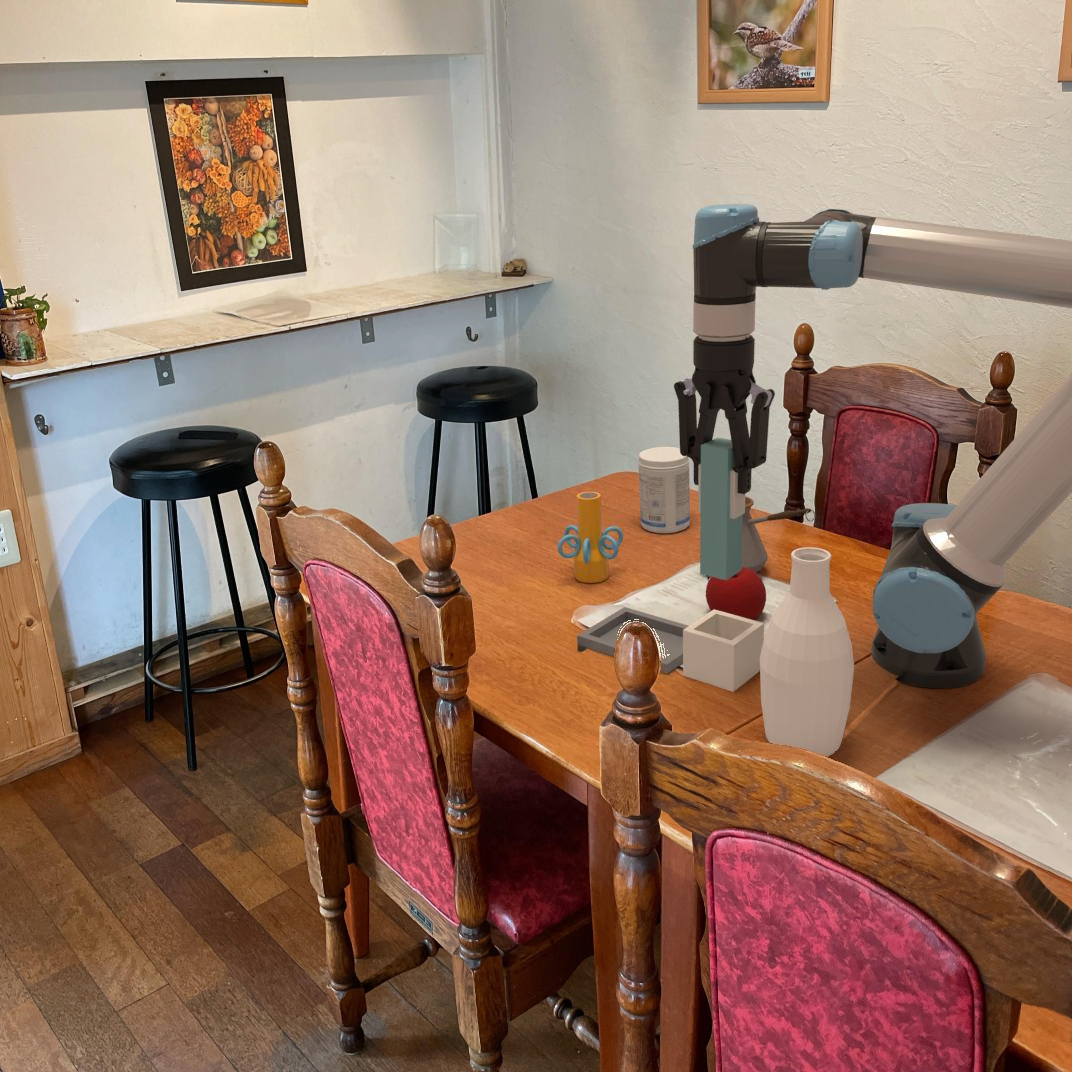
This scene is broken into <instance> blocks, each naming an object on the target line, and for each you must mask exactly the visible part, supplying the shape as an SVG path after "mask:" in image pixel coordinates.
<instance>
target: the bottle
mask: <svg viewBox="0 0 1072 1072" xmlns="http://www.w3.org/2000/svg"><path fill="white" fill-rule="evenodd" d="M790 554H791V555H790V558H791V560H792V561H791V572H790V581H789V582H790V583H789V591H788V592H787V594H786V595H785V597H784V598H783V600H782V601H781V602H780V604H779V605H778V607H777V608H776V610H775V611H774V613H773V614H772V616H771V618H770V621H769V623H768V627H767V629H766V631H765V633H764V640H763V645H762V650H761V655H760V671H759V673H760V675H759V677H760V680H759V681H760V702H761V704H760V705H761V711H762V719H763V725H764V731H765V738H766V740H767V741H768V743H769V744H770V743H773V744H779V745H787V746H792V747H798V748H802V749H806V750H809V751H812V752H815V753H818V754H821V755H824V756H827V758H829V757H831V756H832V755H834V754H835V753H836V752H837V751H838V750H839V749H840V747H841V745H842V742H843V737H844V734H845V731H846V730H845V729H846V724H847V722H848V721H847V720H848V717H849V712H850V709H851V708H850V707H851V701H852V700H851V699H852V691H853V681H854V674H855V673H854V672H855V662H854V653H853V652H854V651H853V643H852V641H851V637H850V633H849V629H848V627H847V623H846V619H845V616H844V615H843V613H842V611H841V610H840V608H839V606H838V604H837V602H836V601H835V599H834V597H833V596H832V593H831V590H830V589H831V587H830V585H831V584H830V580H831V579H830V561H831V560H832V555H831V552H829V551H828V550H825V549H824V548H820V547H814V546H811V547H809V546H806V547H805V546H804V547H800V548H796V549H794V550H792V552H791V553H790ZM835 751H836V752H835ZM830 755H831V756H830Z"/></svg>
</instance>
